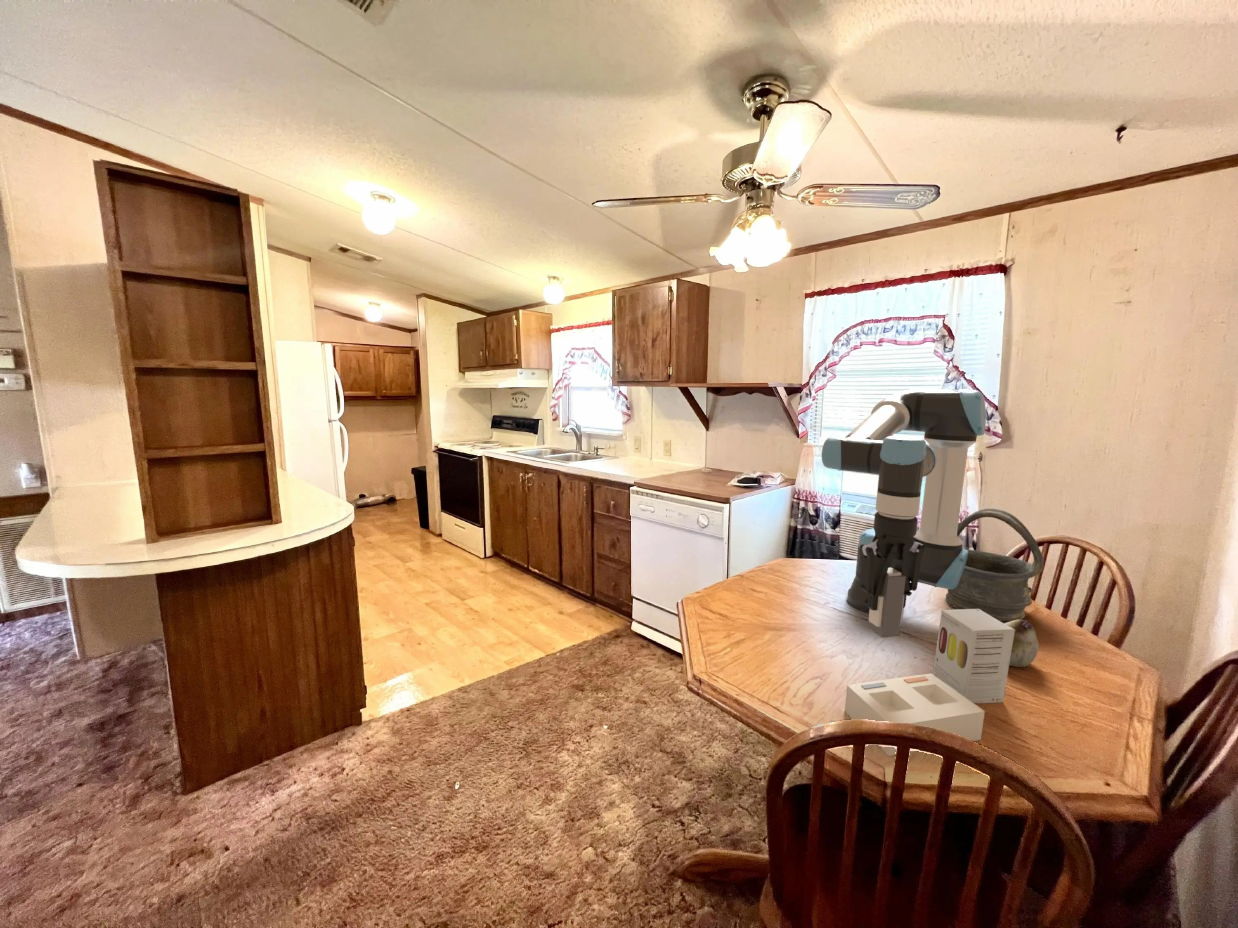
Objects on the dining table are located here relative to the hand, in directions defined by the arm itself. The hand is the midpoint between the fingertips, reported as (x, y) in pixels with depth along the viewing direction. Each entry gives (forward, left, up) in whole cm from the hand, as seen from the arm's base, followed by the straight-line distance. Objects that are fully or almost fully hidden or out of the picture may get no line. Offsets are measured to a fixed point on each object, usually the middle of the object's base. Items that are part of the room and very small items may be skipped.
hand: (884, 622), depth 99 cm
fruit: (-41, -5, -17) cm, 45 cm away
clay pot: (-62, -30, -17) cm, 71 cm away
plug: (0, 0, -2) cm, 2 cm away
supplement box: (-21, +2, -17) cm, 27 cm away
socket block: (0, +9, -17) cm, 19 cm away
